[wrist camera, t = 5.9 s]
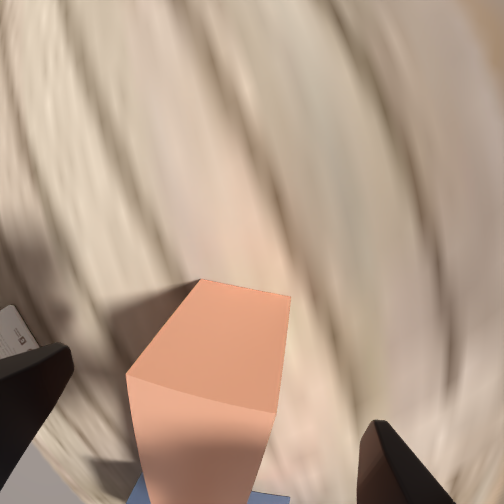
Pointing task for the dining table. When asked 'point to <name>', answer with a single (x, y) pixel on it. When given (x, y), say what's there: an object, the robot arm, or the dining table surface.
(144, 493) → the block
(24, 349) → the skincare box
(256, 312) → the salmon pink prism
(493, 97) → the dining table surface
